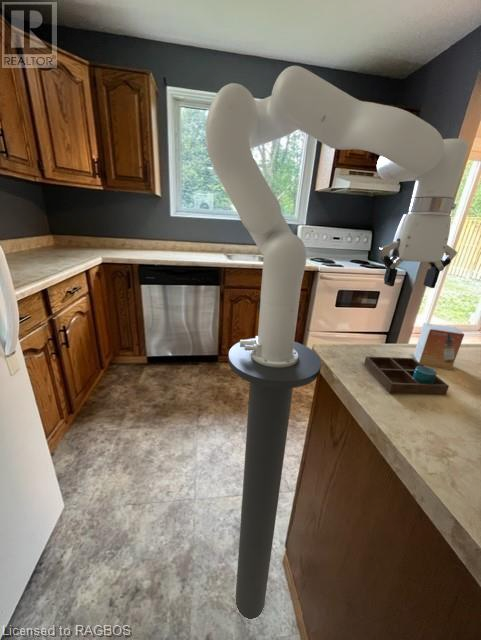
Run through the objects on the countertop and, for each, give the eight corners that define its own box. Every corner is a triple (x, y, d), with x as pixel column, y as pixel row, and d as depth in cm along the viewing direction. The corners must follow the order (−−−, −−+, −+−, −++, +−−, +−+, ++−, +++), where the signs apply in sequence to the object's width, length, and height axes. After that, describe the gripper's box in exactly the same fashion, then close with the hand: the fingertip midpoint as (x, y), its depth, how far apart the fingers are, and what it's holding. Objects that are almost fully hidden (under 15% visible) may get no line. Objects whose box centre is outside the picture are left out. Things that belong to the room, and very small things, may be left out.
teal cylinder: (418, 388, 62) (423, 374, 61) (407, 378, 66) (411, 365, 65) (436, 388, 62) (441, 375, 61) (424, 378, 66) (428, 366, 65)
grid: (389, 393, 61) (392, 384, 60) (364, 364, 73) (365, 356, 72) (445, 395, 61) (449, 385, 60) (411, 366, 74) (413, 358, 73)
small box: (418, 364, 75) (429, 329, 71) (413, 355, 80) (423, 322, 76) (452, 370, 72) (465, 334, 69) (444, 360, 78) (456, 326, 74)
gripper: (455, 210, 62) (433, 284, 68) (381, 206, 62) (365, 281, 67) (483, 209, 55) (456, 291, 61) (399, 205, 55) (380, 288, 60)
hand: (408, 285), depth 64 cm, fingers open, 9 cm apart
